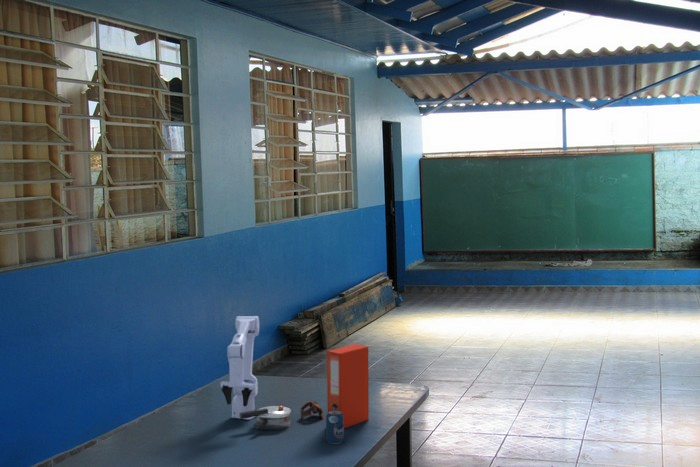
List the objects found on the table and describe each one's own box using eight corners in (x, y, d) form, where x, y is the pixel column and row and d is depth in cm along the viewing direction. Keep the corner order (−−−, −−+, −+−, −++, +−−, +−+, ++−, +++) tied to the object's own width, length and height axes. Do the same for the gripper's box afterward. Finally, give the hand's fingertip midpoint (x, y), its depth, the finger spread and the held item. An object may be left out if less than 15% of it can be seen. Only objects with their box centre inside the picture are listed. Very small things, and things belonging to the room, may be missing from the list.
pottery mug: (324, 422, 359) (315, 407, 357) (305, 431, 361) (296, 416, 359) (327, 407, 371) (318, 392, 368) (308, 415, 373) (299, 401, 370)
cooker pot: (271, 416, 366) (270, 405, 366) (299, 420, 361) (299, 409, 360) (241, 433, 344) (241, 421, 344) (271, 437, 338) (270, 425, 338)
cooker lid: (281, 406, 364) (281, 400, 364) (297, 414, 352) (296, 409, 351) (233, 414, 353) (233, 409, 353) (247, 424, 340) (247, 418, 340)
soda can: (337, 445, 328) (337, 415, 327) (323, 442, 332) (322, 413, 331) (347, 440, 334) (346, 411, 333) (332, 437, 338) (332, 408, 337)
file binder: (369, 419, 360) (368, 346, 358) (341, 429, 348) (340, 353, 345) (355, 416, 366) (354, 343, 363) (327, 425, 353) (326, 350, 350)
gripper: (216, 373, 347) (217, 405, 348) (247, 376, 341) (248, 409, 342) (225, 369, 353) (225, 401, 354) (255, 372, 348) (256, 404, 349)
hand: (237, 404), depth 349 cm, fingers open, 7 cm apart
